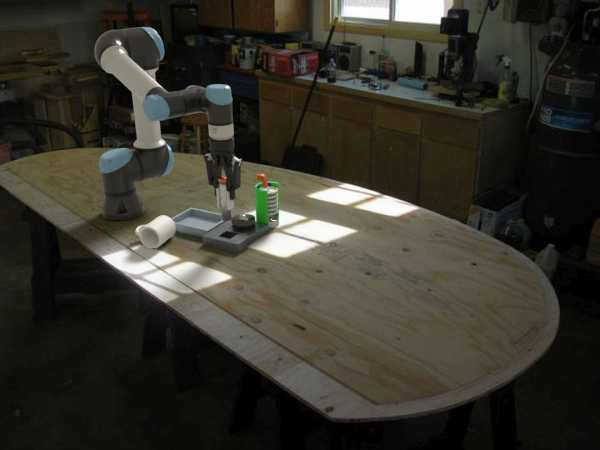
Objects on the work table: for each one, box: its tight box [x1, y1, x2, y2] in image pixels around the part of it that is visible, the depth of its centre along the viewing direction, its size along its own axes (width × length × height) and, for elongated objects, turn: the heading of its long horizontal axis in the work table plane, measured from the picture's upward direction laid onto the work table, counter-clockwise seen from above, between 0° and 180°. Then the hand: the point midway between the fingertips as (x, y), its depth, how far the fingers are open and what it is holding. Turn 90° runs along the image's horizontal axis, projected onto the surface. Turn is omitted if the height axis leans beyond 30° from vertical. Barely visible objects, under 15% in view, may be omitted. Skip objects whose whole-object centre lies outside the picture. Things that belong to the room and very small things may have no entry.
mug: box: [134, 214, 177, 250], centre depth 199 cm, size 12×10×8 cm
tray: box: [170, 207, 233, 239], centre depth 211 cm, size 18×14×3 cm
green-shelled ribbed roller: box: [254, 173, 280, 229], centre depth 209 cm, size 9×8×18 cm
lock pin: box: [218, 175, 232, 221], centre depth 192 cm, size 4×4×14 cm
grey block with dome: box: [202, 213, 269, 254], centre depth 201 cm, size 14×18×7 cm
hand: (225, 207), depth 194 cm, fingers closed on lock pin, 3 cm apart
